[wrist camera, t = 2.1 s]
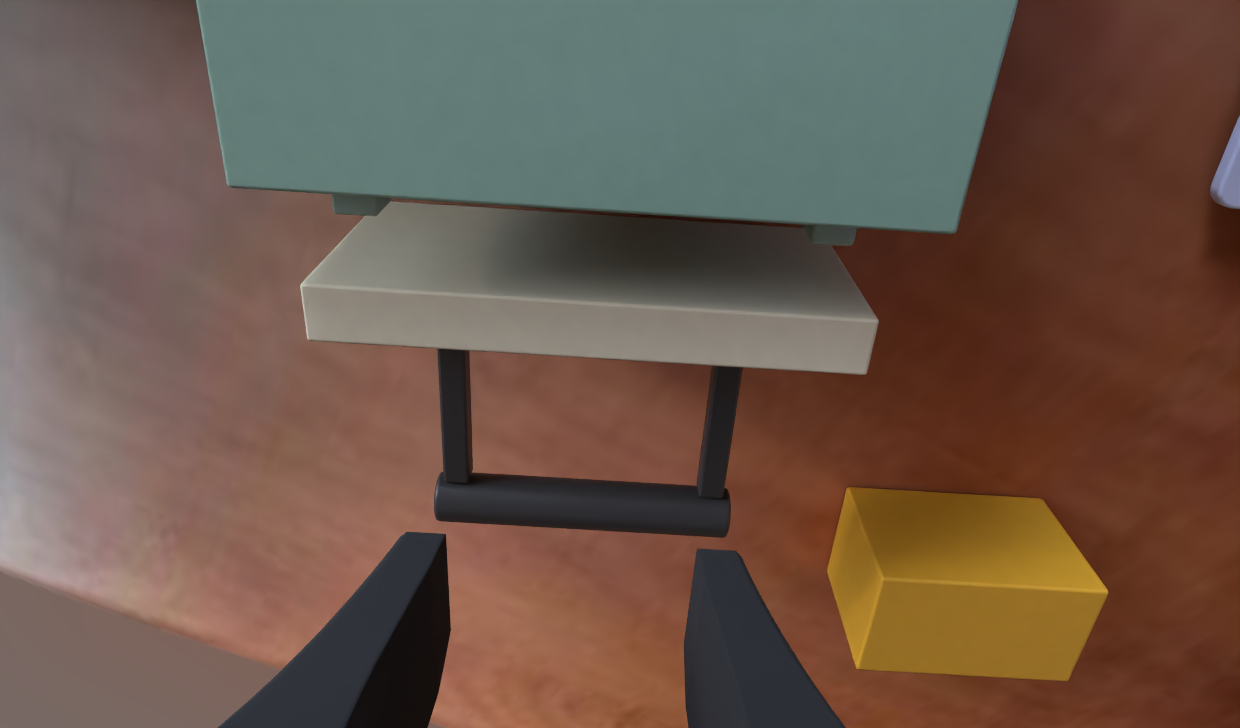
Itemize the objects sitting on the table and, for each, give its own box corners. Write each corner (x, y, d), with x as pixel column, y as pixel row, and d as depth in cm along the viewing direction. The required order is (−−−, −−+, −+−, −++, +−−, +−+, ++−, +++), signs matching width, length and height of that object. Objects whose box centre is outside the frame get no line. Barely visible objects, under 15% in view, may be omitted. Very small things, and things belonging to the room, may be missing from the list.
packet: (1042, 497, 25) (1111, 592, 21) (1010, 581, 26) (1069, 683, 23) (846, 485, 24) (882, 578, 21) (825, 570, 26) (855, 670, 23)
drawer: (779, 458, 23) (816, 593, 18) (397, 435, 23) (336, 565, 18) (928, -343, 15) (1066, -471, 10) (331, -389, 15) (187, -541, 10)
